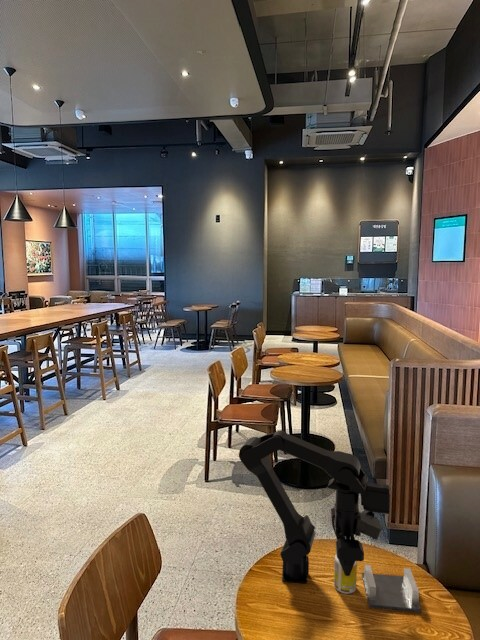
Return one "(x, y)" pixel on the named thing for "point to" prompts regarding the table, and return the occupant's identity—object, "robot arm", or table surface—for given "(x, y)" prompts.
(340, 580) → the supplement bottle
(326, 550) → the table surface
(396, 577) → the grey u-shaped holder
